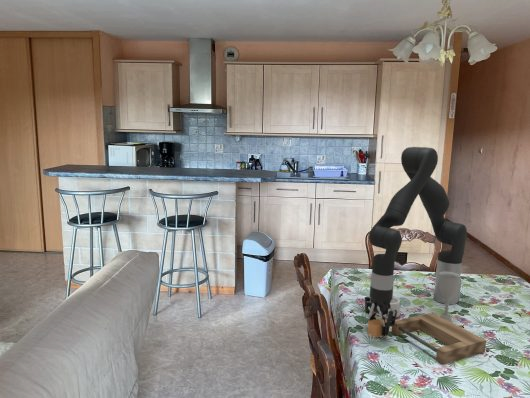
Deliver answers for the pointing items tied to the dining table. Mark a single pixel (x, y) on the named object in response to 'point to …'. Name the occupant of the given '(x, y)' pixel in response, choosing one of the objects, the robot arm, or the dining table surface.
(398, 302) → the mug
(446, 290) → the chalice
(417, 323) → the shelf
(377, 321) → the tall cardboard carton
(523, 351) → the dining table surface
